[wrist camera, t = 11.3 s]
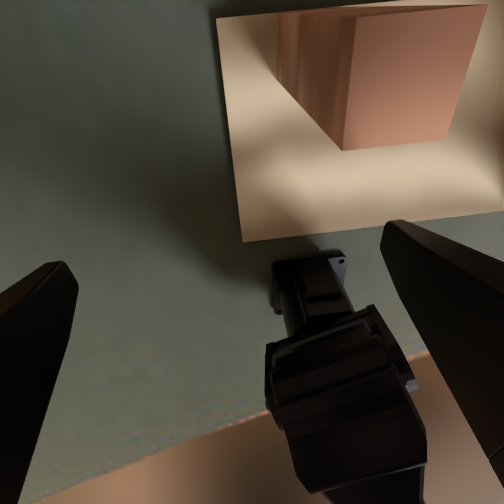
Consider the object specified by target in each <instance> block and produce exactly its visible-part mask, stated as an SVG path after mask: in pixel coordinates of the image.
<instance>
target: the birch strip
mask: <svg viewBox="0 0 504 504" xmlns="http://www.w3.org/2000/svg"><path fill="white" fill-rule="evenodd" d="M216 24H217V32H218V41H219V49H220V57H221V66H222V74H223V83H224V91H225V99H226V108H227V116H228V125H229V133H230V141H231V150H232V158H233V167H234V175H235V183H236V192H237V200H238V209H239V217H240V225H241V234H242V242H252V241H260V240H268V239H276V238H284V237H292V236H301V235H309V234H317V233H325V232H333V231H341V230H350V229H358V228H366V227H374V226H382V225H385V223H386V222H387V221H389V220H397V219H403V220H405V221H408V222H415V221H423V220H431V219H440V218H448V217H456V216H464V215H472V214H480V213H489V212H497V211H504V0H398V1H388V2H378V3H368V4H358V5H347V6H337V7H327V8H317V9H307V10H296V11H286V12H276V13H266V14H256V15H245V16H235V17H225V18H216Z"/></svg>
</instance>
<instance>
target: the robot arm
mask: <svg viewBox="0 0 504 504" xmlns="http://www.w3.org/2000/svg"><path fill="white" fill-rule="evenodd" d="M380 250H381V253H382V256H383V258H384V261H385V263H386V266H387V268H388V271H389V273H390V276H391V278H392V281H393V283H394V286H395V288H396V291H397V293H398V295H399V297H400V299H401V301H402V303H403V305H404V307H405V308H406V310H407V312H408V314H409V316H410V318H411V319H412V321H413V323H414V325H415V327H416V329H417V330H418V332H419V334H420V336H421V338H422V339H423V341H424V343H425V345H426V347H427V349H428V350H429V352H430V354H431V356H432V358H433V359H434V361H435V363H436V365H437V367H438V369H439V371H440V372H441V374H442V376H443V378H444V380H445V381H446V383H447V385H448V387H449V389H450V390H451V392H452V394H453V396H454V398H455V399H456V402H457V403H458V405H459V407H460V409H461V411H462V412H463V414H464V416H465V418H466V420H467V422H468V423H469V425H470V427H471V429H472V431H473V433H474V434H475V436H476V438H477V440H478V442H479V444H480V445H481V447H482V449H483V451H484V453H485V454H486V456H487V458H488V459H489V462H490V464H491V466H492V468H493V470H494V472H495V473H496V475H497V477H498V479H499V481H500V482H501V484H502V486H503V488H504V262H502V261H500V260H498V259H495V258H493V257H491V256H488V255H486V254H483V253H481V252H479V251H476V250H474V249H472V248H469V247H467V246H465V245H462V244H460V243H457V242H455V241H453V240H450V239H448V238H446V237H443V236H441V235H438V234H436V233H434V232H431V231H429V230H427V229H424V228H422V227H420V226H417V225H415V224H412V223H410V222H408V221H405V220H403V219H397V220H389V221H387V222H386V223H385V226H384V230H383V234H382V238H381V242H380ZM340 259H342V260H340ZM339 260H340V261H339ZM346 265H347V258H346V256H345V255H344V254H336V255H328V256H320V257H312V258H304V259H296V260H288V261H280V262H275V263H273V265H272V284H273V306H274V313H275V314H277V315H282V314H283V318H284V322H285V326H286V331H287V335H288V338H285V339H282V340H280V341H277V342H274V343H273V342H271V343H268V344H266V354H265V397H266V401H265V405H266V408H267V410H268V411H270V412H271V413H272V415H273V418H274V420H275V422H276V424H277V425H278V427H279V429H280V430H281V431H282V432H284V433H285V434H286V437H287V440H288V444H289V448H290V452H291V456H292V460H293V464H294V468H295V472H296V475H297V477H298V478H299V480H300V481H301V483H302V484H303V485H304V487H305V488H306V489H307V490H308V492H309V493H310V494H315V493H319V492H321V494H323V496H324V497H325V498H326V499H327V500H328V501H329V502H330V503H331V504H426V503H425V501H424V498H423V488H424V487H423V486H424V468H425V465H426V464H427V440H426V430H425V427H424V424H423V422H422V420H421V418H420V416H419V414H418V412H417V409H416V407H415V405H414V403H413V401H412V399H411V397H410V395H409V394H411V393H414V392H418V391H419V387H418V384H417V381H416V379H415V377H414V374H413V372H412V370H411V368H410V366H409V364H408V362H407V360H406V358H405V356H404V354H403V352H402V350H401V348H400V346H399V344H398V343H397V341H396V339H395V338H394V336H393V334H392V333H391V331H390V330H389V328H388V326H387V325H386V323H385V322H384V320H383V318H382V317H381V315H380V314H379V312H378V310H377V309H376V307H375V306H374V304H372V305H369V306H366V307H367V308H365V309H362V310H359V311H357V312H355V310H354V308H353V306H352V304H351V302H350V300H349V297H348V295H347V293H346V291H345V289H344V287H343V284H344V278H345V271H346ZM277 267H279V268H277ZM78 291H79V286H78V282H77V280H76V279H75V277H74V275H73V274H72V272H71V271H70V269H69V267H68V266H67V264H66V263H65V262H63V261H55V262H48V263H45V264H44V265H42V266H41V267H39V268H38V269H36V270H35V271H33V272H32V273H30V274H29V275H27V276H26V277H24V278H23V279H21V280H20V281H18V282H17V283H15V284H14V285H12V286H11V287H9V288H8V289H6V290H5V291H3V292H2V293H0V504H18V501H19V498H20V494H21V491H22V488H23V485H24V482H25V479H26V475H27V472H28V469H29V466H30V463H31V459H32V456H33V453H34V450H35V447H36V444H37V440H38V437H39V434H40V431H41V428H42V424H43V421H44V418H45V415H46V412H47V408H48V405H49V402H50V399H51V396H52V393H53V389H54V386H55V383H56V380H57V377H58V373H59V370H60V367H61V364H62V361H63V358H64V354H65V351H66V348H67V345H68V341H69V337H70V333H71V328H72V323H73V317H74V312H75V307H76V302H77V296H78Z"/></svg>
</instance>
